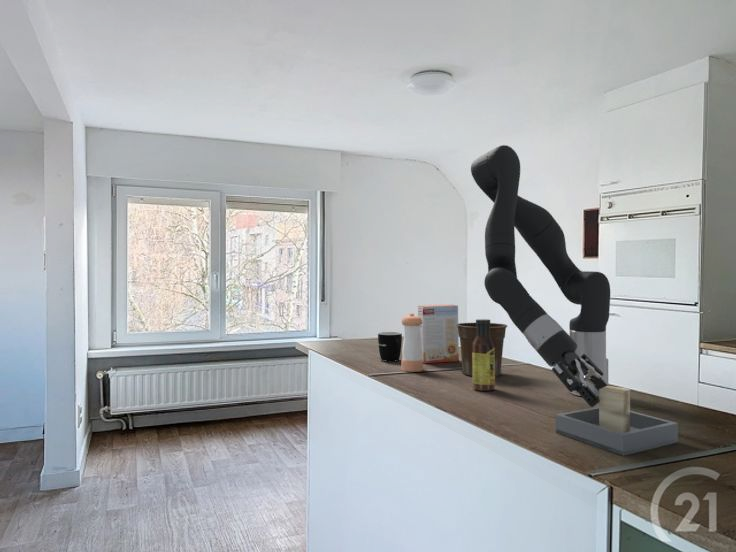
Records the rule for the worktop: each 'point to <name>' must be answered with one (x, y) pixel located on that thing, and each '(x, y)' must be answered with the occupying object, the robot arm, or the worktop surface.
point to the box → (640, 437)
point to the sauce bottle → (483, 357)
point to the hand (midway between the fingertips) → (603, 400)
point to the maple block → (614, 408)
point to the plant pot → (466, 342)
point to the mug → (390, 345)
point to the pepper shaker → (412, 344)
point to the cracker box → (439, 333)
